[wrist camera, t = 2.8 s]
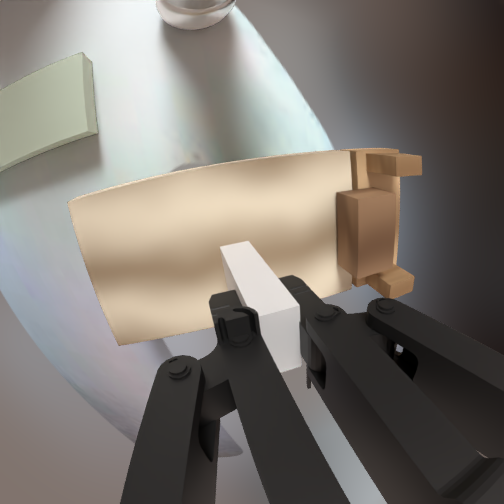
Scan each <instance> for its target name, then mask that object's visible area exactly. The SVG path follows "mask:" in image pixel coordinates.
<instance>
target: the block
mask: <svg viewBox="0 0 504 504" xmlns="http://www.w3.org/2000/svg"><path fill="white" fill-rule="evenodd" d="M336 200H337V228H338V265H339V266H340V267H342V268H343V269H344V270H345V271H347V272H348V273H349V274H351V275H352V276H353V277H355V278H356V279H360V278H363V277H366V276H369V275H372V274H376V273H379V272H382V271H385V270H388V269H391V268H393V257H394V244H395V226H396V193H392V192H389V191H385V190H382V189H378V188H374V187H370V188H363V189H355V190H348V191H341V192H336Z"/></svg>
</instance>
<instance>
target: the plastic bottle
mask: <svg viewBox="0 0 504 504" xmlns="http://www.w3.org/2000/svg"><path fill="white" fill-rule="evenodd" d="M235 2H236V0H156V7H157V10H158V12H159V14H160V16H161V17H162V19H163V20H164V21H165V22H166V23H168V24H169V25H171V26H173V27H176V28H179V29H185V30H197V29H203V28H206V27H210V26H212V25H214V24H216V23H218V22H219V21H221V20H222V19H223V18H224V17H225V16H226V15H227V14H228V13H229V12H230V11H231V10H232V8H233V7H234V5H235Z"/></svg>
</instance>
